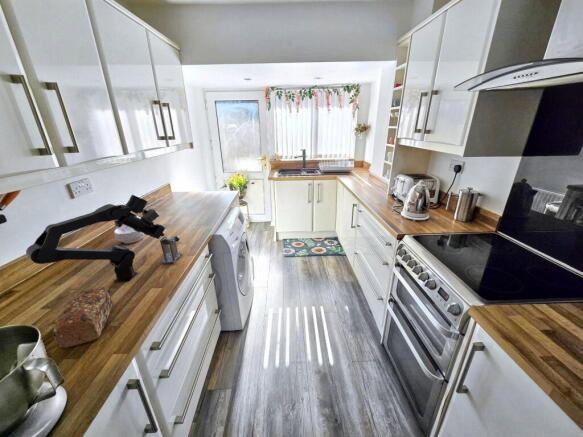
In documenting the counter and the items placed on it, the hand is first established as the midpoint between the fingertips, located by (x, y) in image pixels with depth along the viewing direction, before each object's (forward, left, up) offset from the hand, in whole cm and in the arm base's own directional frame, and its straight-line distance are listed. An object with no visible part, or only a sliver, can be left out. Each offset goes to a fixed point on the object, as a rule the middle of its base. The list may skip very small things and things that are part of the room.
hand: (163, 235), depth 118 cm
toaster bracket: (-3, -3, -12) cm, 13 cm away
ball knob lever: (+1, -3, -5) cm, 6 cm away
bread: (-45, +4, -13) cm, 47 cm away
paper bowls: (+20, +32, -13) cm, 40 cm away
